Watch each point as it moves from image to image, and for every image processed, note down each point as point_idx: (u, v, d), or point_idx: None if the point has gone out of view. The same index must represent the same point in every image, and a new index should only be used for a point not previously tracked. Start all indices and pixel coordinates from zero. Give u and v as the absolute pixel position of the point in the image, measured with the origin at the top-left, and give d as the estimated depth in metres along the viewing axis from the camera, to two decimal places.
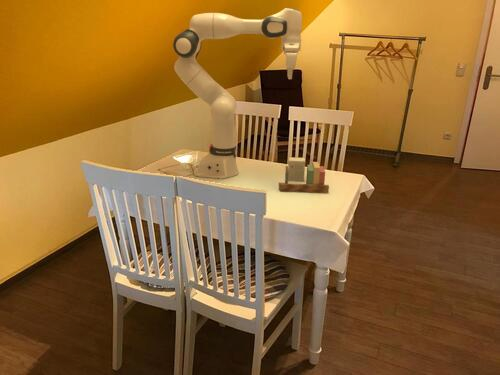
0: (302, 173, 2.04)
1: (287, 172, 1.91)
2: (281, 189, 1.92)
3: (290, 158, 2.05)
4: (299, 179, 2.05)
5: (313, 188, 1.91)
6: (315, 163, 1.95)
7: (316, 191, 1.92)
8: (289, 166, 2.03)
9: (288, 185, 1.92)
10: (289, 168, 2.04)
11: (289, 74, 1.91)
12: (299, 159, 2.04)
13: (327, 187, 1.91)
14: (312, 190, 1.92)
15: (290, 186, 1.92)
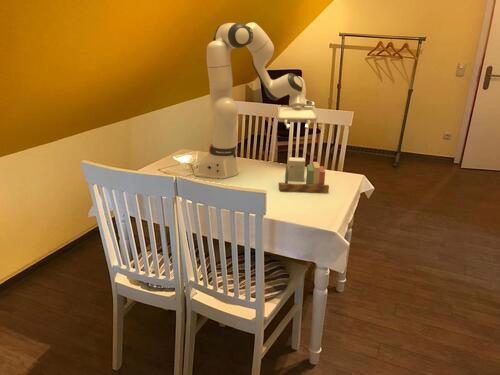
0: (302, 173, 2.04)
1: (287, 172, 1.91)
2: (281, 189, 1.92)
3: (290, 158, 2.05)
4: (299, 179, 2.05)
5: (313, 188, 1.91)
6: (315, 163, 1.95)
7: (316, 191, 1.92)
8: (289, 166, 2.03)
9: (288, 185, 1.92)
10: (289, 168, 2.04)
11: (308, 124, 2.14)
12: (299, 159, 2.04)
13: (327, 187, 1.91)
14: (312, 190, 1.92)
15: (290, 186, 1.92)
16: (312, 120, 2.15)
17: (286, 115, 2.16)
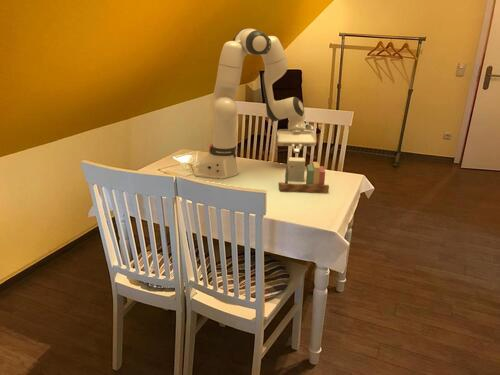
0: (302, 173, 2.04)
1: (287, 172, 1.91)
2: (281, 189, 1.92)
3: (290, 158, 2.05)
4: (299, 179, 2.05)
5: (313, 188, 1.91)
6: (315, 163, 1.95)
7: (316, 191, 1.92)
8: (289, 166, 2.03)
9: (288, 185, 1.92)
10: (289, 168, 2.04)
11: (300, 148, 2.16)
12: (299, 159, 2.04)
13: (327, 187, 1.91)
14: (312, 190, 1.92)
15: (290, 186, 1.92)
16: (311, 144, 2.17)
17: (285, 139, 2.17)
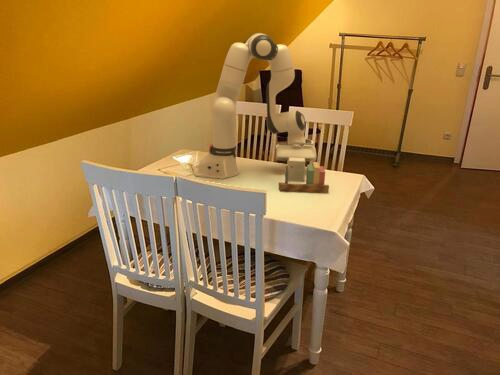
0: (302, 173, 2.04)
1: (287, 172, 1.91)
2: (281, 189, 1.92)
3: (290, 158, 2.05)
4: (299, 179, 2.05)
5: (313, 188, 1.91)
6: (315, 163, 1.95)
7: (316, 191, 1.92)
8: (289, 166, 2.03)
9: (288, 185, 1.92)
10: (289, 168, 2.04)
11: None
12: (299, 159, 2.04)
13: (327, 187, 1.91)
14: (312, 190, 1.92)
15: (290, 186, 1.92)
16: (311, 159, 2.11)
17: (285, 154, 2.11)
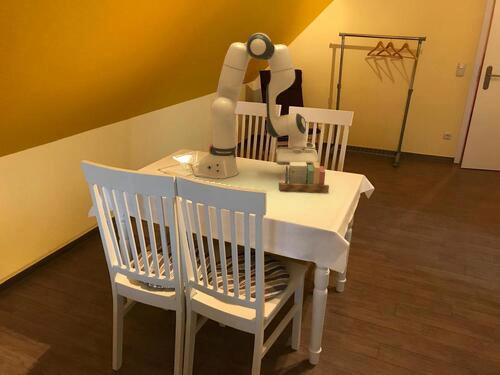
0: (304, 178, 1.97)
1: (287, 172, 1.91)
2: (281, 189, 1.92)
3: (291, 163, 1.98)
4: None
5: (313, 188, 1.91)
6: (315, 163, 1.95)
7: (316, 191, 1.92)
8: (290, 171, 1.96)
9: (288, 185, 1.92)
10: (290, 173, 1.97)
11: None
12: (300, 164, 1.97)
13: (327, 187, 1.91)
14: (312, 190, 1.92)
15: (290, 186, 1.92)
16: None
17: (285, 158, 2.04)
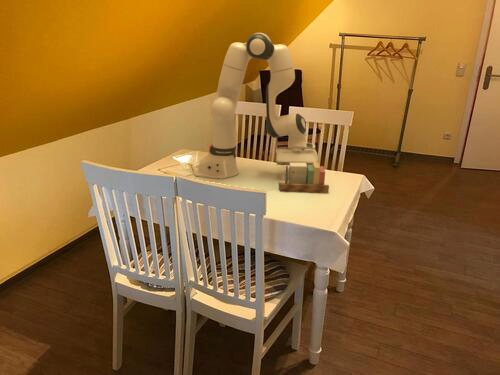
0: (304, 179, 1.96)
1: (287, 172, 1.91)
2: (281, 189, 1.92)
3: (291, 163, 1.98)
4: None
5: (313, 188, 1.91)
6: (315, 163, 1.95)
7: (316, 191, 1.92)
8: (290, 172, 1.95)
9: (288, 185, 1.92)
10: (290, 174, 1.96)
11: None
12: (300, 164, 1.96)
13: (327, 187, 1.91)
14: (312, 190, 1.92)
15: (290, 186, 1.92)
16: (312, 164, 2.03)
17: (285, 158, 2.03)
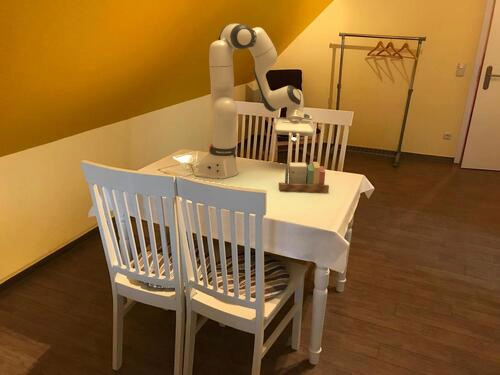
0: (304, 179, 1.96)
1: (287, 172, 1.91)
2: (281, 189, 1.92)
3: (291, 163, 1.98)
4: None
5: (313, 188, 1.91)
6: (315, 163, 1.95)
7: (316, 191, 1.92)
8: (290, 172, 1.96)
9: (288, 185, 1.92)
10: (290, 174, 1.96)
11: (297, 137, 2.12)
12: (300, 164, 1.96)
13: (327, 187, 1.91)
14: (312, 190, 1.92)
15: (290, 186, 1.92)
16: (309, 134, 2.13)
17: (283, 128, 2.13)
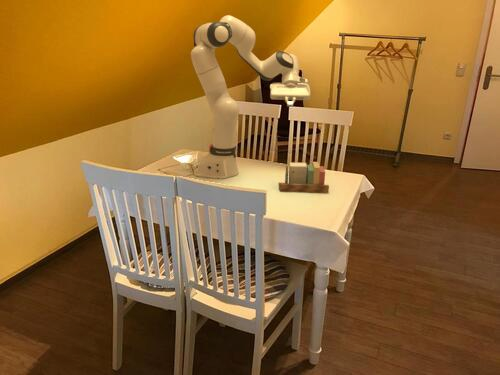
0: (304, 179, 1.96)
1: (287, 172, 1.91)
2: (281, 189, 1.92)
3: (291, 163, 1.98)
4: None
5: (313, 188, 1.91)
6: (315, 163, 1.95)
7: (316, 191, 1.92)
8: (290, 172, 1.96)
9: (288, 185, 1.92)
10: (290, 174, 1.96)
11: (293, 101, 2.11)
12: (300, 164, 1.96)
13: (327, 187, 1.91)
14: (312, 190, 1.92)
15: (290, 186, 1.92)
16: (305, 97, 2.12)
17: (279, 92, 2.12)
